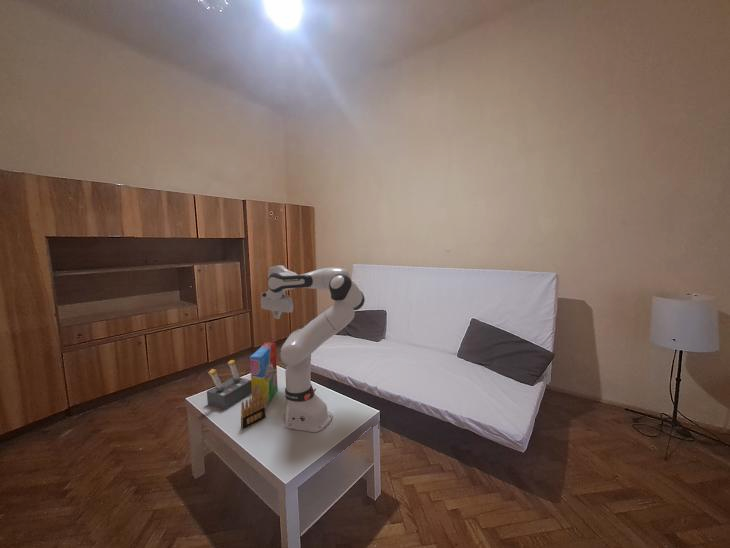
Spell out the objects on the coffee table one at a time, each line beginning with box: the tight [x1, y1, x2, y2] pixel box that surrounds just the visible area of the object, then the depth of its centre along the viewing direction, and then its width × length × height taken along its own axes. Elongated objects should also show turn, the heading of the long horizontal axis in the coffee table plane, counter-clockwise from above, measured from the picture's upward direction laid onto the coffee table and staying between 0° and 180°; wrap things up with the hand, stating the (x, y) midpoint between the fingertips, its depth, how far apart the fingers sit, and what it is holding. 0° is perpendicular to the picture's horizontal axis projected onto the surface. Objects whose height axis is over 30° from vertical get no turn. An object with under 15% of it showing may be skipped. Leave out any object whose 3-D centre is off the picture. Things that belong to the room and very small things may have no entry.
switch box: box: [206, 377, 252, 411], centre depth 146 cm, size 12×17×7 cm
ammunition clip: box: [240, 393, 267, 430], centre depth 126 cm, size 11×2×12 cm, turn 140°
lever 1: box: [207, 368, 225, 391], centre depth 139 cm, size 3×2×12 cm
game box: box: [249, 341, 279, 410], centre depth 143 cm, size 21×6×27 cm, turn 179°
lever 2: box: [227, 359, 242, 382], centre depth 148 cm, size 3×2×12 cm
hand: (277, 318), depth 159 cm, fingers closed
